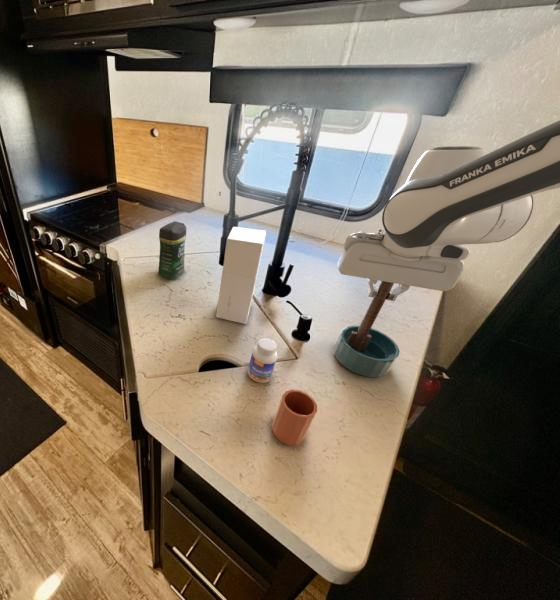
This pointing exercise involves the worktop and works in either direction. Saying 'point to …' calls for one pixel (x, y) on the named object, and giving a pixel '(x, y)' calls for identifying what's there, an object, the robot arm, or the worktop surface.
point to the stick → (369, 319)
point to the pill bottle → (263, 360)
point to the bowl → (367, 353)
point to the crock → (294, 417)
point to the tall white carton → (239, 273)
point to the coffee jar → (172, 250)
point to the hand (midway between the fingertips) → (380, 297)
